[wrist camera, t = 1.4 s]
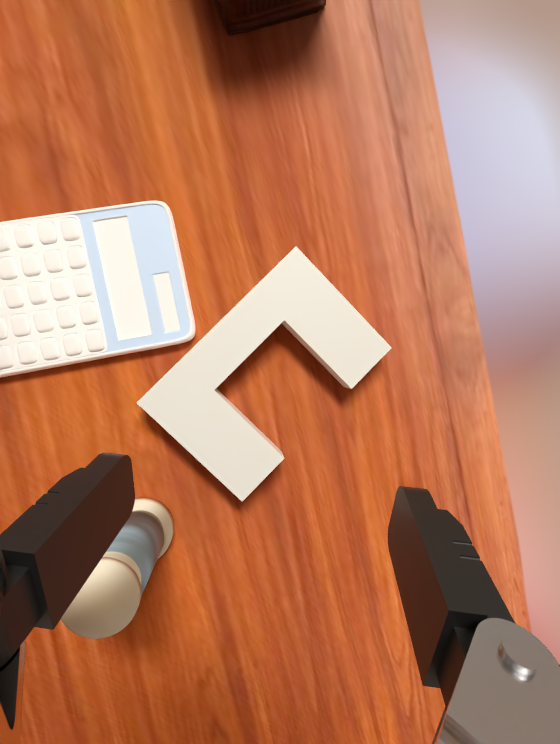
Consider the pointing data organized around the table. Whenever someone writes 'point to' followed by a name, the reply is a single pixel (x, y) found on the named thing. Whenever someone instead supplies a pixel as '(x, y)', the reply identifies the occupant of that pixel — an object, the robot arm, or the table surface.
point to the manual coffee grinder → (262, 12)
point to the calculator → (90, 286)
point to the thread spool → (122, 573)
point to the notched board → (235, 343)
